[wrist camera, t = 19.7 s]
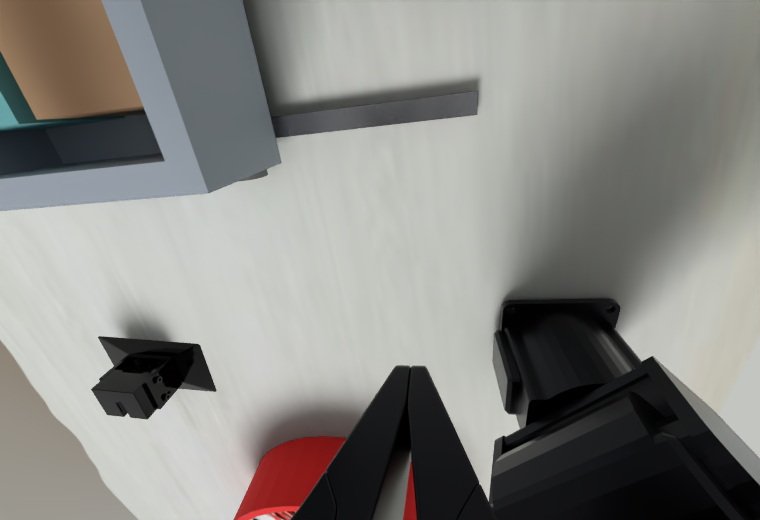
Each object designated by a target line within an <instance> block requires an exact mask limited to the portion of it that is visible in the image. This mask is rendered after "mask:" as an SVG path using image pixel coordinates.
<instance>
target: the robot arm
mask: <svg viewBox="0 0 760 520" xmlns="http://www.w3.org/2000/svg"><path fill="white" fill-rule="evenodd" d="M609 306H612V307H611V308H609V309H606V308H607V307H609ZM510 307H513V308H514V309H512V310H507V309H508V308H510ZM619 312H620V306H619V304H618V303H617V302H616V301H615V300H613V299H555V300H509V301H506V302H504V303H503V304H502V307H501V321H500V330H497V331H496V332H495V333H494V345H493V365H494V369H495V373H496V377H497V381H498V385H499V389H500V394H501V398H502V402H503V406H504V410H505V411H506V412H507V413H508V414H516V416H517V420H518V423H519V427H520V430H518V431H516V432H514V433H512V434H510V435H508V436H507V437H505V436H502V437H500V438H498V439H496V440H495V444H494V455H493V465H492V475H491V485H490V496H489V502H488V500H487V497H486V495H485V493H484V491H483V489H482V487H481V485H480V484H479V480H478V478H477V476H476V474H475V472H474V470H473V467H472V465H471V463H470V461H469V459H468V457H467V454H466V452H465V450H464V448H463V446H462V443H461V441H460V439H459V437H458V435H457V433H456V430H455V428H454V426H453V424H452V422H451V420H450V417H449V415H448V413H447V411H446V409H445V407H444V404H443V402H442V400H441V398H440V396H439V394H438V391H437V389H436V387H435V385H434V383H433V381H432V378H431V376H430V374H429V372H428V370H427V368H426V367H425V366H412V367H410V366H403V365H397V366H395V368H394V369H393V370H392V372H391V373H390V375H389V376H388V378H387V379H386V381H385V382H384V384H383V385H382V387H381V388H380V390H379V391H378V393H377V394H376V396H375V397H374V399H373V400H372V402H371V403H370V405H369V406H368V408H367V409H366V411H365V412H364V413H363V415H362V416H361V418H360V419H359V421H358V422H357V424H356V425H355V427H354V428H353V430H352V431H351V433H350V434H349V436H348V437H347V439H346V440H345V442H344V443H343V445H342V446H341V448H340V449H339V451H338V452H337V454H336V455H335V457H334V458H333V460H332V461H331V463H330V464H329V466H328V467H327V469H326V472H327V473H326V472H324V473H323V474H322V476H321V477H320V479H319V480H318V482H317V483H316V485H315V486H314V488H313V489H312V490H311V492H310V493H309V495H308V496H307V497H306V499H305V500H304V502H303V503H302V504H301V506H300V507H299V509H298V510H297V511H296V513H295V514H294V515H293V516H292V518H291V519H290V520H403V515H404V508H405V500H406V493H407V485H408V478H409V470H410V462H411V457H412V469H413V481H414V493H415V504H416V516H417V520H760V458H759V457H758V456H757V455H756V454H755V453H754V452H753V451H752V450H751V449H750V448H749V447H748V446H747V445H746V444H745V443H744V441H743V440H742V439H741V438H740V437H739V436H738V435H737V434H736V433H735V432H734V431H733V430H732V429H731V428H730V427H729V426H728V425H727V424H726V423H725V422H724V421H723V420H722V419H721V417H720V416H719V415H718V414H717V413H716V412H715V411H714V410H713V409H711V408H710V407H709V406H708V405H707V404H706V403H705V402H704V401H702V400H701V399H700V398H699V397H698V396H697V395H696V394H695V393H693V392H692V391H691V390H690V389H689V388H688V387H687V386H686V385H685V384H683V383H682V382H681V381H680V380H679V379H678V378H677V377H676V376H674V375H673V374H672V373H671V372H670V371H669V370H668V369H667V368H665V367H664V366H663V365H662V364H661V363H660V362H659V361H658V360H657V359H655V358H654V357H653V356H652V357H650V358H648V359H646V360H644V361H641V360H640V359H639V358H638V356H637V355H636V354H635V353H634V352H633V350H632V349H631V348H630V347H629V345H628V344H627V343H626V342H625V341H624V339H623V338H622V337H621V336H620V334H619V333H618V332H617V331H616V330H615V327H616V323H617V320H618V316H619Z"/></svg>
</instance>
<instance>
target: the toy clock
mask: <svg viewBox="0 0 760 520" xmlns="http://www.w3.org/2000/svg"><path fill="white" fill-rule="evenodd" d="M346 439H347V438H339V437H324V436H323V437H306V438H301V439H296V440H291V441H288V442H286V443H283V444H280V445H278V446H277V447H275V448H273V449H272V450H270V451H269V452H268V453H267V454H266V455H265V456H264V457H263V458H262V460H261V462H260V464H259V466H258V468H257V470H256V473H255V475H254V477H253V479H252V481H251V483H250V486H249V488H248V490H247V492H246V494H245V496H244V499H243V501H242V503H241V505H240V507H239V509H238V512H237V514H236V516H235V518H234V520H290V519H291V518H292V516H293V515H294V514H295V513H296V511H297V510H298V509H299V507H300V506H301V504H302V503H303V502H304V500H305V499H306V497H307V496H308V495H309V493H310V492H311V490H312V489H313V488H314V486H315V485H316V483H317V482H318V480H319V479H320V477H321V476H322V474H323V473H324V472H326V469H327V467H328V466H329V464H330V463H331V461H332V460H333V458H334V457H335V455H336V454H337V452H338V451H339V449H340V448H341V446H342V445H343V443H344V442H345V440H346ZM326 473H327V472H326ZM403 520H417V516H416V504H415V493H414V481H413V469H412V462H410V470H409V478H408V485H407V493H406V500H405V508H404V515H403Z"/></svg>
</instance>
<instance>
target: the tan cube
mask: <svg viewBox="0 0 760 520" xmlns="http://www.w3.org/2000/svg"><path fill="white" fill-rule="evenodd" d="M0 51H1V53H2V55H3V57H4V59H5V61H6V63H7V65H8V66H9V68H10V70H11V72H12V74H13V76H14V78H15V80H16V82H17V83H18V85H19V87H20V89H21V91H22V93H23V95H24V97H25V98H26V100H27V102H28V104H29V106H30V108H31V110H32V112H33V114H34V115H35V117H36V119H37V120H41V119H62V118H83V117H104V116H125V115H142V114H146V112H145V109H144V107H143V104H142V102H141V99H140V97H139V94H138V92H137V89H136V87H135V84H134V82H133V79H132V77H131V74H130V71H129V69H128V66H127V64H126V61H125V59H124V56H123V54H122V51H121V49H120V46H119V44H118V41H117V39H116V36H115V34H114V31H113V29H112V26H111V24H110V21H109V19H108V16H107V13H106V11H105V8H104V6H103V3H102V1H101V0H0Z"/></svg>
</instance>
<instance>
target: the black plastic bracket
mask: <svg viewBox="0 0 760 520" xmlns="http://www.w3.org/2000/svg"><path fill="white" fill-rule="evenodd" d="M98 338H99V340H100V342H101V343H102V345H103V347H104V349H105V350H106V352H107V354H108V356H109V358H110V359H111V361H112V363H113V365H114V367H113V368H112V369H110V370H109V371H108V372H107V373H106V374H104V375H103V376H102V377H101V378H100V379H99V380H100V382H99V383H98V384H97V385H96V386H94V387H93V388H92V389H91V390H92V391H93V393H94V395H95V396H96V398H97V399H98V401H99V403H100V404H101V406H102V407H103V409H104V410H105V412H106V414H107V415H113V416H122V417H124V416H125V415H126V414H127V413H128V414H129V416H130V417H131V418H140V419H148V418H149V417H150V416H151V415H152V414H153V413H154V412H155V410H156V409H161V408H162V407H163V406H164V404H165V403H166V402H167V401H168V400H169V399H170V397H171V396H172V395H173V394H174V393H175V392H176V391H177V389H178V388H179V389H191V390H202V391H213V392H216V388H215V385H214V382H213V380H212V377H211V374H210V372H209V369H208V366H207V363H206V361H205V358H204V355H203V352H202V350H201V347H200V345H199V344H191V343H178V342H165V341H152V340H140V339H127V338H114V337H101V336H99V337H98Z"/></svg>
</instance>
